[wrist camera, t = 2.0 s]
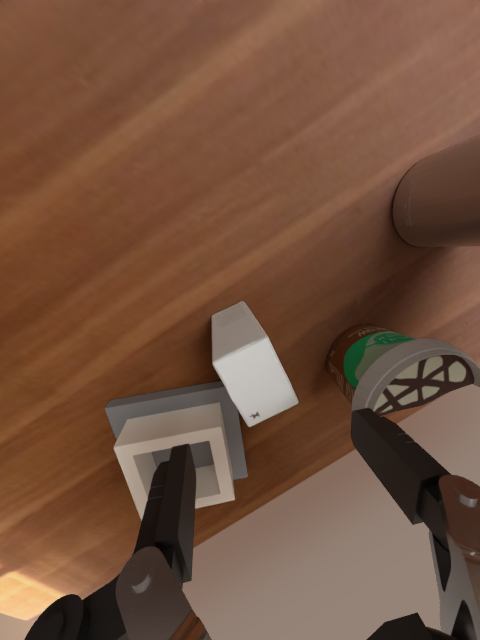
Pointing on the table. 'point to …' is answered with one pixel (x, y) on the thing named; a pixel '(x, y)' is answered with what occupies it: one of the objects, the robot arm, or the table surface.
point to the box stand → (180, 439)
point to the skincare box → (249, 365)
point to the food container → (396, 369)
